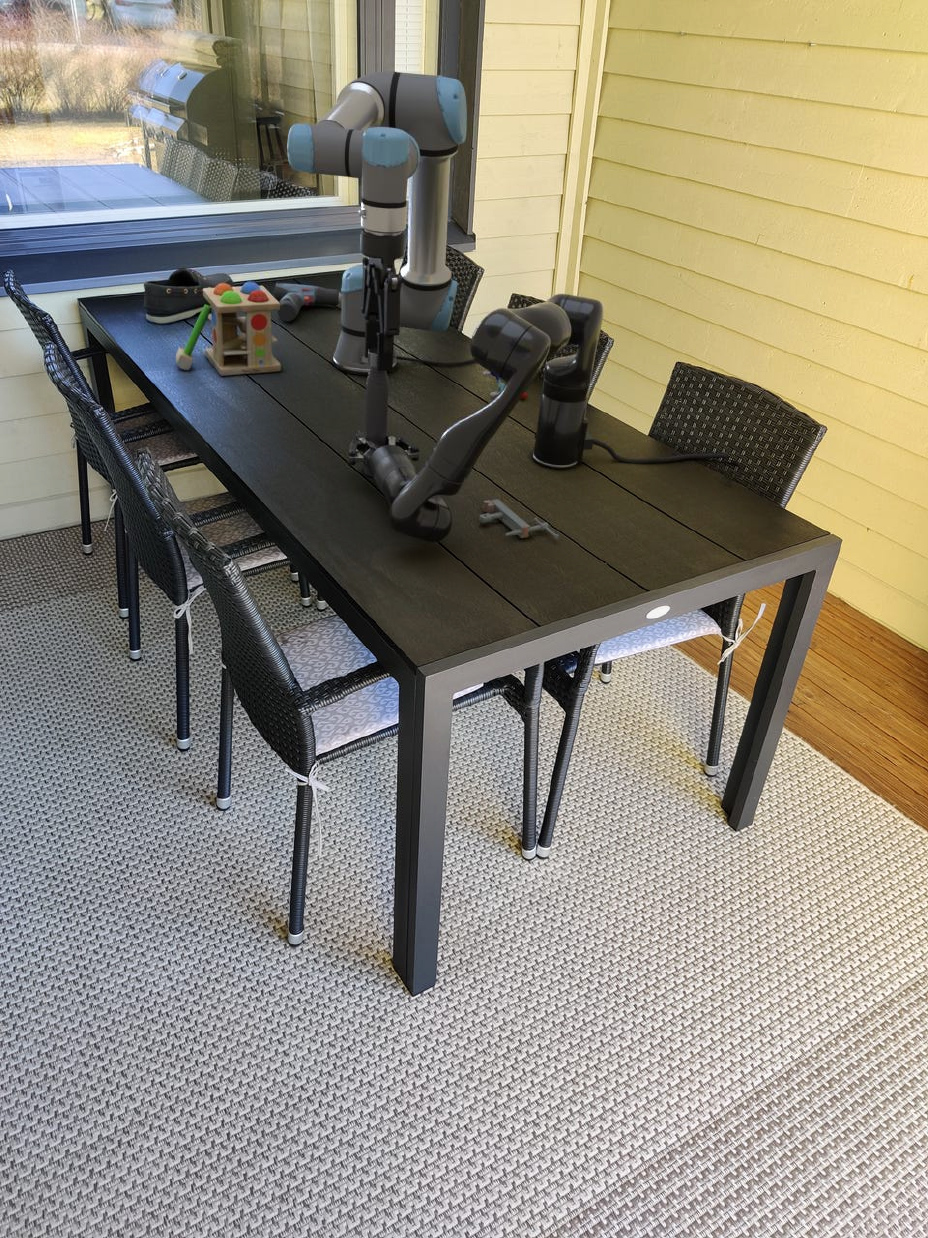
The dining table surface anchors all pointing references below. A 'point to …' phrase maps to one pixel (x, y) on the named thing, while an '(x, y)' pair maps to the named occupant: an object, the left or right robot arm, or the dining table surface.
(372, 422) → the dark grey cylinder
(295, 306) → the power drill
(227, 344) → the pounding bench toy
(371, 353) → the cap
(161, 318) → the boat shoe
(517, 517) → the clamp
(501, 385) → the molecular model
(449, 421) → the dining table surface
